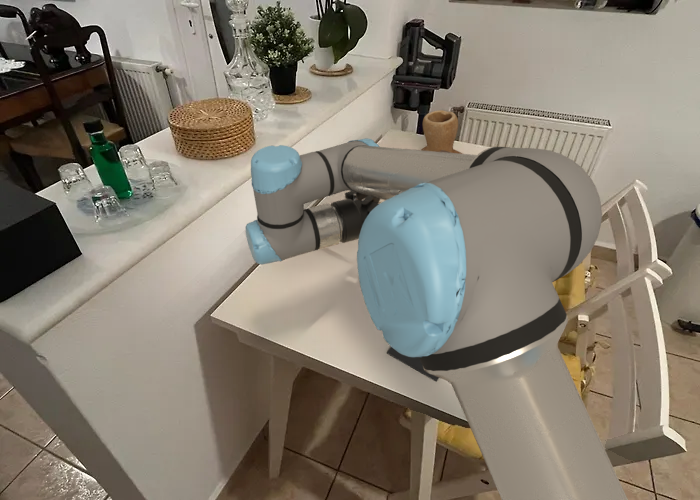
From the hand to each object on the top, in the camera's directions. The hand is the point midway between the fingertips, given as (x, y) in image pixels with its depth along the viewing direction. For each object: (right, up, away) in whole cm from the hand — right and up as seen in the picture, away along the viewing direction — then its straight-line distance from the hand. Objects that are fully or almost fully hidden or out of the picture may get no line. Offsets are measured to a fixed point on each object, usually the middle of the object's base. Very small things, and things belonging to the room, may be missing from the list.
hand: (435, 197), depth 83 cm
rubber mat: (-3, -28, -5) cm, 29 cm away
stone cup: (+12, +17, +50) cm, 54 cm away
